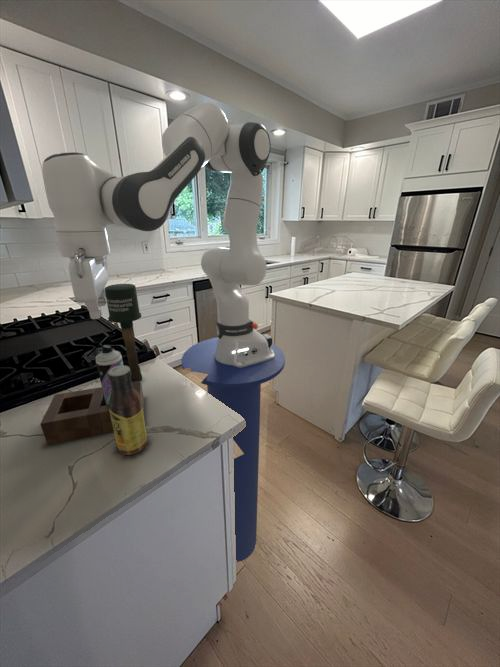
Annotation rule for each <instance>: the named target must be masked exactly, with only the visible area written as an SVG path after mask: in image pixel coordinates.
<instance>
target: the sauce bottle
mask: <svg viewBox="0 0 500 667" xmlns="http://www.w3.org/2000/svg"><path fill="white" fill-rule="evenodd" d="M108 378H109V380H110V382H111V387H112V391H111V396H110V401H109V406H108V408H109V412H110V417H111V421H112V426H113V430H114V431H113V435H114V439H115V443H116V447H117V449H118V451H119V452H120V453H121V454H122V455H125V456H130V455H131V456H132V455H135V454H138V453H140V452H141V451H142V450H144V449H145V448H146V445H147V442H148V441H147V437H148V435H147V428H146V424H145V423H146V422H145V414H144V415H143V408H142V405H141V399H140V395H139V392H138V391H137V390H135V389H134V388H133V385H132V382H131V370H130V368H129V365H124V364H123V365H121V366H116V367H113V368H112V369H110V370H109V371H108Z"/></svg>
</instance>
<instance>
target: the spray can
mask: <svg viewBox="0 0 500 667" xmlns="http://www.w3.org/2000/svg"><path fill="white" fill-rule="evenodd" d="M101 348H102V350H101V351H100V353H98V354H97V355H96V356H95V364H96V368H97V373H98V376H99V380H100V381H99V382H100V385H101V387H102V389H103V393H104V398H105V402H106V405H109V401H110V396H111V391H112V387H111V382H110V380H109V378H108V371H109V370H110V369H112V368H113V367H116V366H121V365H124V361H123V356H122V354H121V351H119V350H115V349H114V348H112V347H111V344H104V345H102V347H101Z"/></svg>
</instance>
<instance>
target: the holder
mask: <svg viewBox="0 0 500 667" xmlns="http://www.w3.org/2000/svg"><path fill="white" fill-rule="evenodd" d="M132 385H133V388H134V389H135V390H137V391H138V392H139V395H140V399H141V405H142V408H143V415H144V416H145V398H144V392H143V385H142V381H136V382H132ZM108 406H109V405H106V402H105V398H104V393H103V389H102V386H99V387H93V388H87V389H80V390H74V391H69V392H63V393H56V394H54V395H53V397H52V400H51V401H50V403H49V406H48V408H47V409H46V411H45V414H44V416H43V417H42V419H41V421H40V427H41V430H42V433H43V436H44V439H45V442H46V444H47V446H51V445H55V444H60V443H65V442H69V441H70V442H71V441H74V440H79V439H84V438H87V437H93V436H97V435H103V434H108V433H114V430H113V426H112V421H111V417H110V412H109V408H108Z"/></svg>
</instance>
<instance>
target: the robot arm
mask: <svg viewBox="0 0 500 667" xmlns="http://www.w3.org/2000/svg"><path fill="white" fill-rule="evenodd" d="M268 132H269V131H268V130H267V129H266V127H265V125H264V124H262V123H259V122H255V121H248V122H245V123H236V124H229V121H228V119H227V117H226V113H225V112H224V111H223V109H222V108H221V107H219V105H217V104H215V103H213V102H209V101H207V102H203V103H200V104H197V105H195V106H193V107H191V108H188V110H186V111H184V112H182V113H181V114H180V115H178V116H177V117H176V118H175V119H174V120H173V121H172V122H171V123H170V124H168V126H167V127H166V128H165V130H164V131H163V133H162V135H161V148H162V151H163V154H164V156H165V157H164V158H163V159H162V160H161V161H160V162H159V163H158V164H156V166H154V167H153V168H152V169H151V170H149V171H140V172H135V173H132V174H128V175H124V176H123V175H122V176H117V175H115V174H113V173H110V172H108V171H107V170H106V169H104V168H102V167H101V166H99V165H98V164H97V163H95V162H94V161H93V160H91V158H90V157H89V156H88V155H87V154H84V153H82V152H76V151H75V152H60V153H55V154H51V155H49V156H47V157H46V158H44V160H43V161H42V166H41V167H42V168H41V172H42V180H43V185H44V186H43V187H44V191H45V195H46V199H47V203H48V204H47V205H48V207H49V209H50V211H51V214H52V215H53V217H54V232H55V234H56V239H57V243H58V247H59V251H60V256H61V257H63V258H69V262H68V272H69V279H70V282H71V288H72V292H73V296H74V299H75V301H76V302H77V303H79V304H83V303H84V305H85V307H86V309H87V310H88V313H89V317H90V319H91V320H99V319H101V316H102V313H101V308H100V307H105V306H106V305H107V300H106V295H105V287H106V285H107V283H108V281H109V267H108V265H109V264H108V258H107V257H108V255H110V254H111V247H110V243H109V237H108V232H107V226H108V225H109V226H111V227H114V228H122V229H133V230H138V231H141V232H142V231H143V232H153V231H156V230H158V229H160V228H161V227H162V226H163V225H164V224H165V223H166V221H167V219H168V218H169V215H170V212H171V210H172V208H173V205H174V203H175V201H176V199H177V198H178V197H179V195H180V194H182V192H183V191H184V190H185V189H186V187H187V186H188V185H189V184H190V183H191V182H192V180H194V178H195V177H196V176H197V175H198V174H199V172H200V171H201V170H202V169H203V167H204V166H205V168H206V169H207V170H209V171H210V172H213V173H218V174H221V173H229V176H230V184H229V188H228V191H227V195H226V202H225V208H224V213H223V220H222V227H223V230H224V232H226V233H227V235H228V239H229V247H223V246H219V247H218V246H217V247H212V248H209V249H207V250H205V252H204V253H203V254H202V256H201V260H200V266H201V269H202V272H203V273H204V274H205V276H206V277H207V278H208V280H209V282H210V284H211V287H212V290H213V293H214V296H215V301H216V312H217V314H216V315H217V320H216V325H215V326H216V328H215V329H216V337H218V341H217V349H216V353H215V359H216V360H217V361H218V362H220V363H223V364H227V365H233V366H235V367H238V368H242V367H246V366H249V365H253V364H256V363H260V362H264V361H267V360H271V359H274V357H275V355H274V351H273V350H272V349H271V348H270V347H271V345H272V344H273V337H272V336H271V335H270V334H268V333H265V334H264V333H263V334H262V333H260V332H258V331H257V329H258V328H259V325H258V324H257V323H256V322H254V321H253V320H251V319H250V318H249V317H250V309H249V308H250V301H249V299H248V296H247V295H246V294H245V293H244V292H243V289H242V288H241V286H257V285H260V283H262V282H263V280H264V279H265V277H266V275H267V270H268V264H267V260H266V259H265V257H264V256H263V254H262V253H261V251H260V248H259V244H258V234H257V233H258V226H259V219H260V213H261V208H262V203H263V202H262V201H263V194H264V176H263V174H262V173H263V171H264V170H265V168H266V165H267V163H268V160H269V158H270V153H271V148H272V147H271V145H272V144H271V138H270V135H269V133H268Z"/></svg>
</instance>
